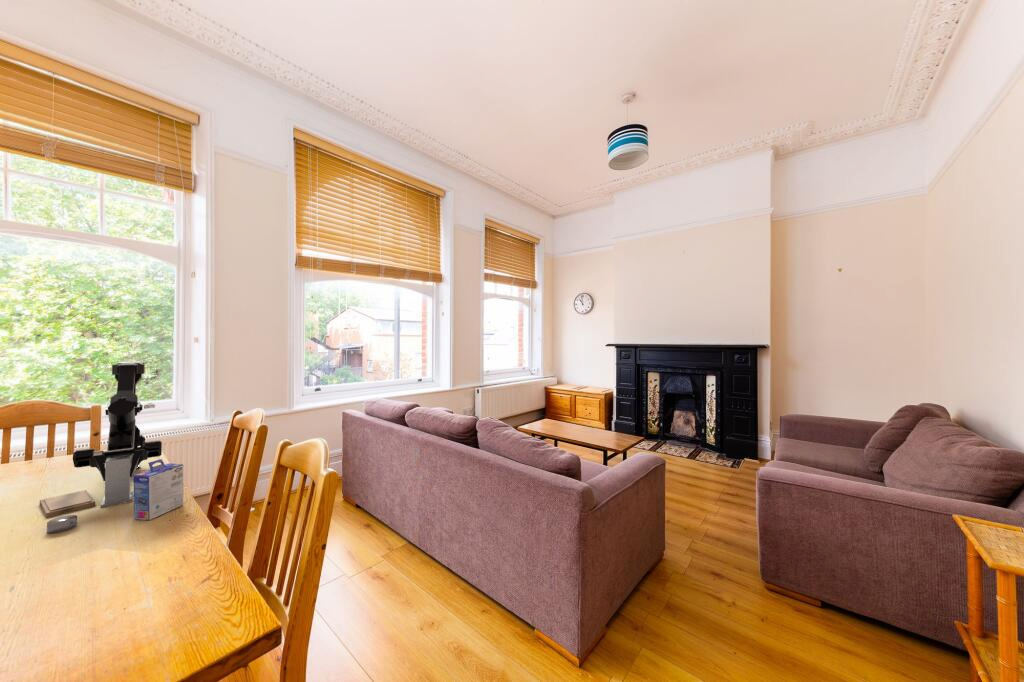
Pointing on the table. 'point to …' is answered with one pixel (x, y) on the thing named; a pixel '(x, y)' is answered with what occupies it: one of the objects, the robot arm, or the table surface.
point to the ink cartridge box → (158, 490)
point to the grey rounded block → (61, 524)
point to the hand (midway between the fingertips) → (118, 478)
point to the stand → (66, 503)
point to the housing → (117, 480)
